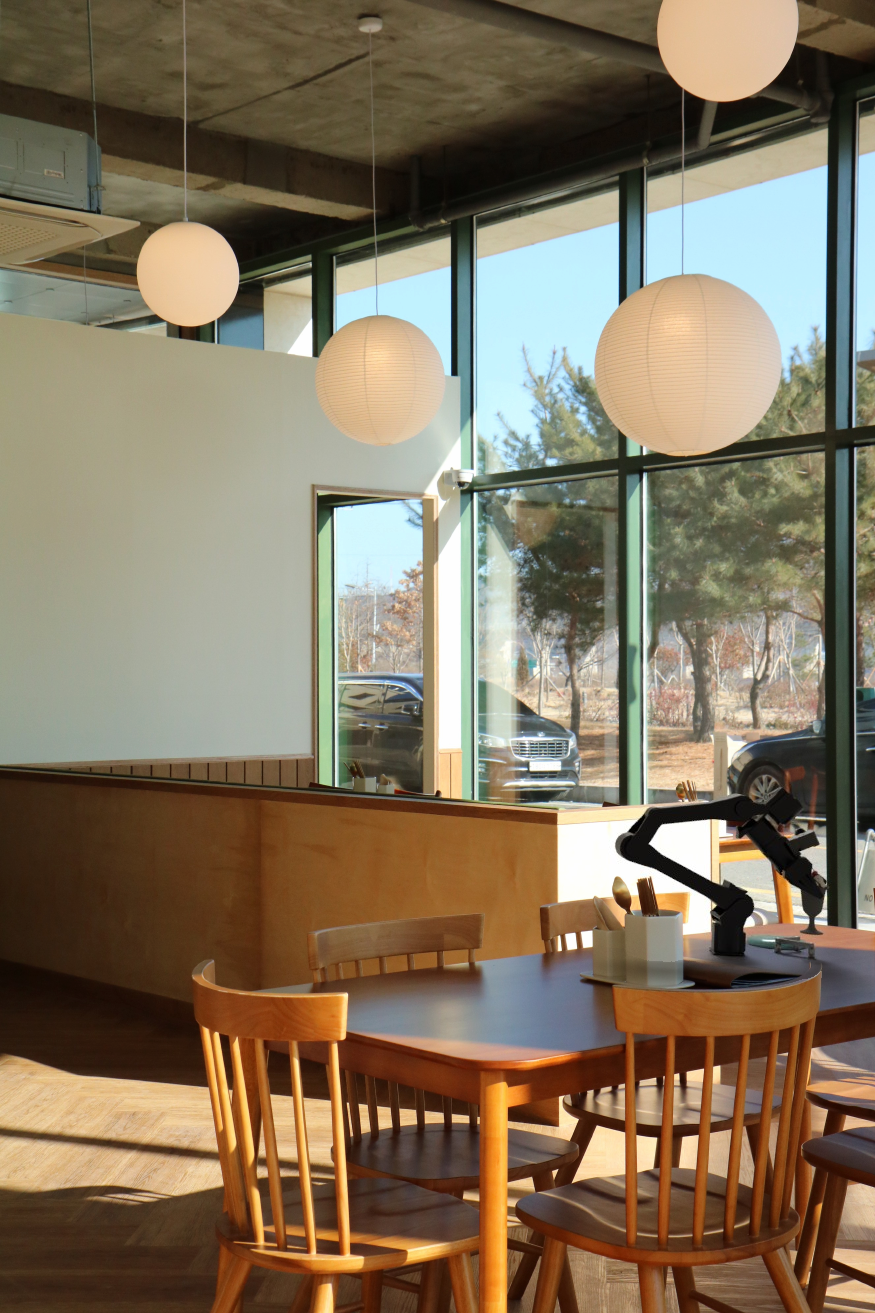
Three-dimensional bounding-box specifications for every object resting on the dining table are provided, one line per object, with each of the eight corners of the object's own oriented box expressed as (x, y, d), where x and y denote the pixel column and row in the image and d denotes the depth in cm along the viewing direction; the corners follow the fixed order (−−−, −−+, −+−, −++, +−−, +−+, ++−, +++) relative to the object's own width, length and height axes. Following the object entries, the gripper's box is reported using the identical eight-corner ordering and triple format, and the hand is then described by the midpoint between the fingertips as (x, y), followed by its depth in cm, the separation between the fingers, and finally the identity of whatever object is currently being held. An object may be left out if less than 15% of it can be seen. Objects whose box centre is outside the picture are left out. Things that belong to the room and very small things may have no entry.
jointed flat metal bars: (780, 956, 284) (781, 942, 285) (770, 948, 294) (770, 934, 295) (815, 958, 284) (815, 943, 284) (803, 950, 294) (804, 936, 294)
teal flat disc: (753, 948, 294) (753, 943, 294) (741, 938, 307) (741, 933, 307) (812, 950, 294) (812, 946, 294) (797, 940, 307) (797, 936, 307)
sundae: (799, 935, 282) (802, 864, 282) (792, 929, 289) (795, 860, 289) (830, 936, 282) (833, 865, 282) (823, 931, 288) (825, 862, 289)
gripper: (803, 819, 277) (855, 876, 275) (791, 813, 296) (840, 866, 294) (763, 854, 278) (815, 911, 276) (753, 846, 296) (802, 899, 295)
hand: (819, 895), depth 285 cm, fingers closed on sundae, 7 cm apart
